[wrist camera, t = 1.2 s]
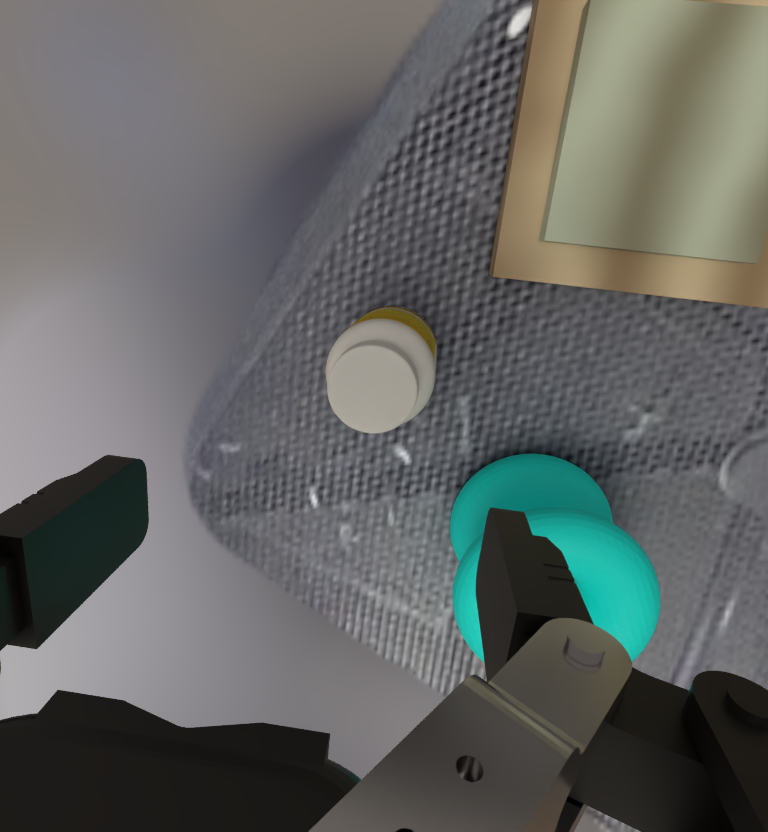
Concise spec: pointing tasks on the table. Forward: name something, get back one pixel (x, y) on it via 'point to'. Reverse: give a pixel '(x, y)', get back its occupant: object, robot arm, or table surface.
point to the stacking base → (641, 150)
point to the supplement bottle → (382, 369)
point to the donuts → (558, 544)
